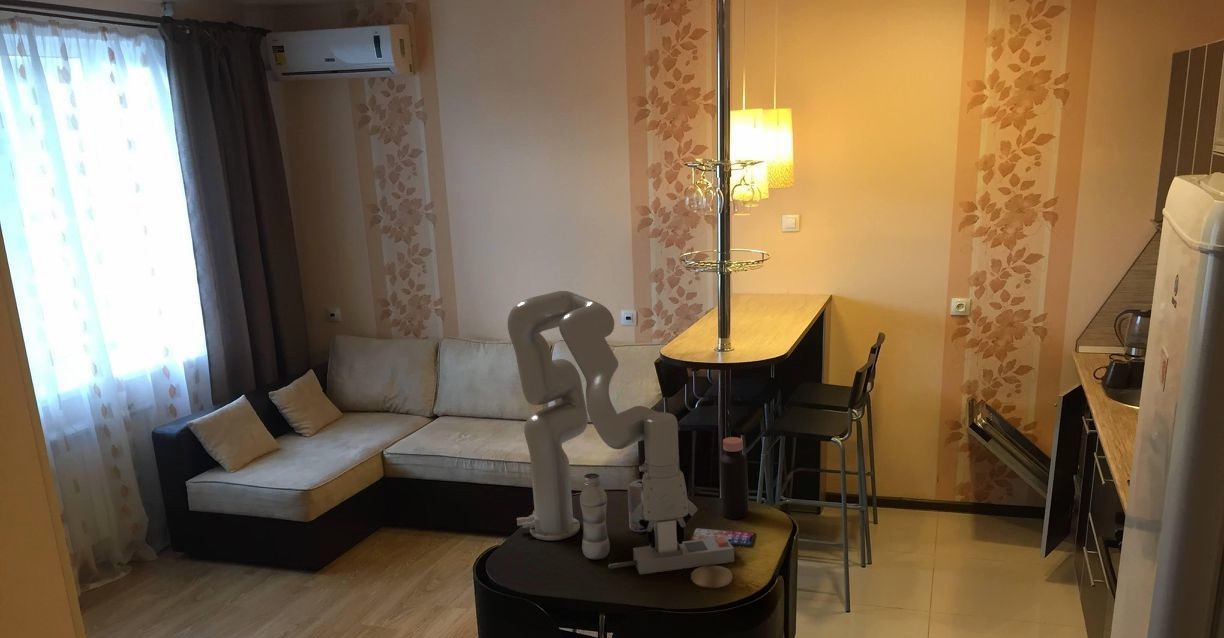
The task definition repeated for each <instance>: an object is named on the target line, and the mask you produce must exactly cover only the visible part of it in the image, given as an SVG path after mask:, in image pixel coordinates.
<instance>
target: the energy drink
mask: <svg viewBox="0 0 1224 638" xmlns="http://www.w3.org/2000/svg"><path fill="white" fill-rule="evenodd" d="M642 479H643V478H642ZM642 479H641V478H640V479H637V478H636V479H632V480H630V481H628V482H627V483H628V484H627V502H628V504H627V505H628V519H629V520H628V522H629V529H630V531H632V532H634V533H645V531H646V532H647V530H646V529H645V528H644V527H643V526H641V525H640V524H639V523H637V522H636V521H635V520H633V519H632V517H631V514H632V513H633V512H634V511H635V509H636V508H637V507H638V506H639V504H640V503H641V488H642ZM640 517H642V518H643V519H645V517H644V514H643V513H641V514H640ZM645 520H646V519H645Z"/></svg>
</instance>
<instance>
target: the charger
mask: <svg viewBox="0 0 1224 638" xmlns="http://www.w3.org/2000/svg"><path fill="white" fill-rule="evenodd" d="M676 523H677V519H668V520H660V521H655V522H654V525H653V530H654V532H655V549H656V551H657V553H664V552H671V551H677V542H678V541H677V533H676Z"/></svg>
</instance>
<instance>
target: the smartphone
mask: <svg viewBox="0 0 1224 638" xmlns="http://www.w3.org/2000/svg"><path fill="white" fill-rule="evenodd" d="M691 533H692V534H691V535H690V538H689V541H691V540H699V539H706V538H714V537H721V536H725V537H726V538H727V539H728V541H729V542H730V544H731V545H732V547H737V546H741V547H740V548H752V547H753V545H754V542H753V541H755V538H756V533H755V532H754V531H743V530H742V531H741V530H727V529H714V528H703V527H702V528H701V527H695V528H694V529H693V532H691ZM743 546H744V547H743Z"/></svg>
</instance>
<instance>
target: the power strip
mask: <svg viewBox="0 0 1224 638" xmlns="http://www.w3.org/2000/svg"><path fill="white" fill-rule="evenodd" d="M632 551H633V552H632V553H633V560H628V561H621V562H615V563H609V564H608V565H607V567H608V568H609V569H617V568H624V567H625V568H626V567H630V566H631V567H632V566H635V567H636V569H637V571H638V573H639V574H638V575H645V574H654V573H659V572H660V573H661V572H668V571H675V570H676V571H677V570H682V569H683V568H684V569H691V568H696V567H697V568H699V567H702V566H708V565H719V564H727V563H733V562H735V548H734V546H732V545H731V544H730V542H729V541H728V539H727V538H726V537H725V536H721V537H714V538H706V539H699V540H691V541H690V540H685V541H684V540H682V544H679V543H678V541H677V551H671V552H664V553H657V551H656V549H655V548H652V547H651V545H650V544H649V545H645V546H639V547H638V546H637V547H633V548H632Z"/></svg>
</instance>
